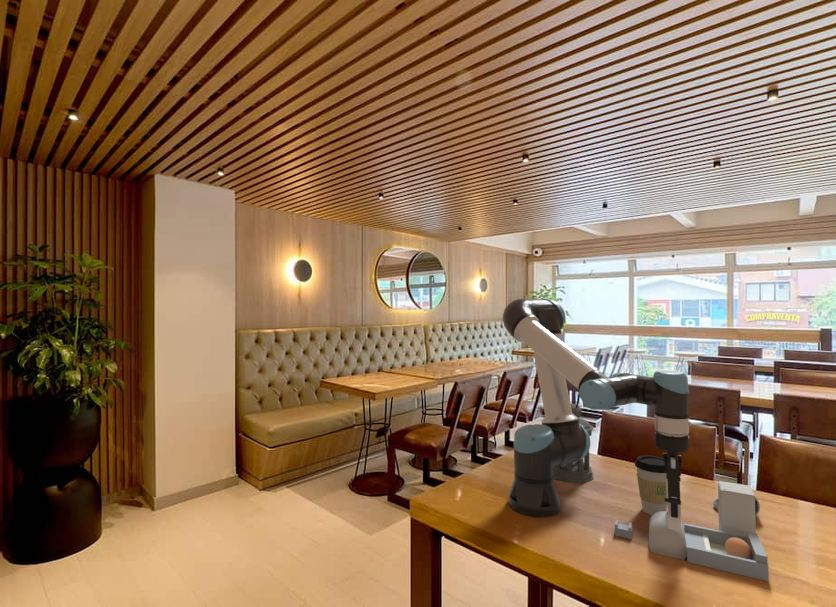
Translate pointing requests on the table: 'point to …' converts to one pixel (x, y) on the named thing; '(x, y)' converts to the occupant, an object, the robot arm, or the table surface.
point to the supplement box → (736, 508)
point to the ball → (737, 548)
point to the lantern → (578, 469)
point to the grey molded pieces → (702, 546)
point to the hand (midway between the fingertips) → (673, 517)
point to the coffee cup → (652, 483)
